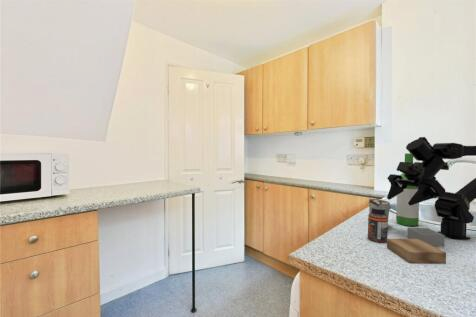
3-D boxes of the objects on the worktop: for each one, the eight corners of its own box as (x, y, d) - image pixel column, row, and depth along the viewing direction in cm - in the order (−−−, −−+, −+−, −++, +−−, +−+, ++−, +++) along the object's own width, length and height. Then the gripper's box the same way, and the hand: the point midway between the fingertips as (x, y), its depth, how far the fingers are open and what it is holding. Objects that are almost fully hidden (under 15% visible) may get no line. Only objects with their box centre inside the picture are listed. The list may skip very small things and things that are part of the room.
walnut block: (418, 248, 75) (418, 238, 75) (445, 263, 65) (446, 252, 65) (386, 247, 75) (387, 238, 75) (409, 262, 65) (409, 252, 65)
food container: (396, 230, 91) (397, 205, 91) (379, 229, 92) (379, 204, 92) (383, 221, 103) (384, 198, 103) (368, 220, 104) (368, 198, 104)
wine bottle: (411, 227, 95) (413, 153, 94) (391, 222, 102) (393, 153, 101) (422, 225, 98) (425, 153, 97) (403, 220, 105) (405, 153, 104)
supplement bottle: (363, 236, 85) (364, 205, 84) (379, 236, 85) (380, 205, 85) (374, 243, 79) (375, 209, 78) (391, 242, 79) (392, 209, 79)
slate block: (427, 239, 83) (428, 228, 83) (444, 247, 76) (444, 235, 76) (407, 238, 84) (407, 227, 83) (421, 246, 77) (422, 234, 76)
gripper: (392, 153, 92) (365, 181, 91) (439, 154, 73) (406, 190, 72) (409, 173, 93) (383, 201, 92) (459, 179, 75) (427, 214, 74)
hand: (397, 201), depth 82 cm, fingers open, 9 cm apart
